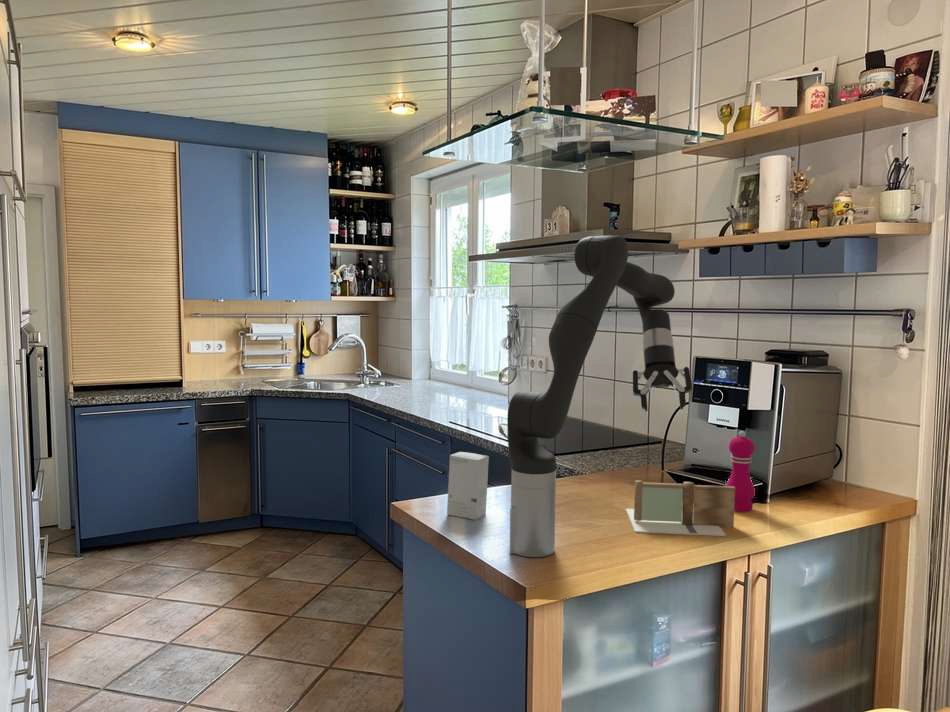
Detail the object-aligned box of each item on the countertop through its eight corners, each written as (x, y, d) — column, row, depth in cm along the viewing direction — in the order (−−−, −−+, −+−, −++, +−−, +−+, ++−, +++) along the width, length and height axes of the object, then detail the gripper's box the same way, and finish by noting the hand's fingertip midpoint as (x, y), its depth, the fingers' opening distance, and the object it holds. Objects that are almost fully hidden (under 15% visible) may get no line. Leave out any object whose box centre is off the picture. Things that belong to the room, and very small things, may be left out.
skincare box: (446, 515, 164) (447, 455, 163) (458, 509, 170) (458, 450, 169) (477, 520, 161) (478, 459, 160) (488, 513, 166) (489, 454, 165)
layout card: (634, 532, 154) (635, 530, 154) (625, 509, 170) (625, 508, 170) (725, 536, 152) (726, 534, 152) (707, 513, 169) (707, 511, 168)
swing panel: (634, 520, 160) (635, 482, 159) (633, 518, 161) (634, 480, 161) (682, 522, 158) (683, 483, 158) (680, 520, 160) (681, 481, 160)
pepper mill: (754, 514, 168) (758, 434, 166) (723, 510, 170) (727, 432, 169) (753, 506, 175) (757, 429, 173) (724, 503, 177) (726, 427, 176)
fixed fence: (683, 526, 158) (684, 484, 157) (680, 522, 161) (682, 481, 160) (734, 528, 157) (736, 485, 156) (731, 525, 159) (733, 483, 159)
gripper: (629, 345, 172) (633, 406, 166) (687, 341, 169) (694, 402, 163) (630, 357, 179) (635, 415, 173) (687, 353, 176) (693, 412, 169)
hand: (664, 409), depth 168 cm, fingers open, 8 cm apart
